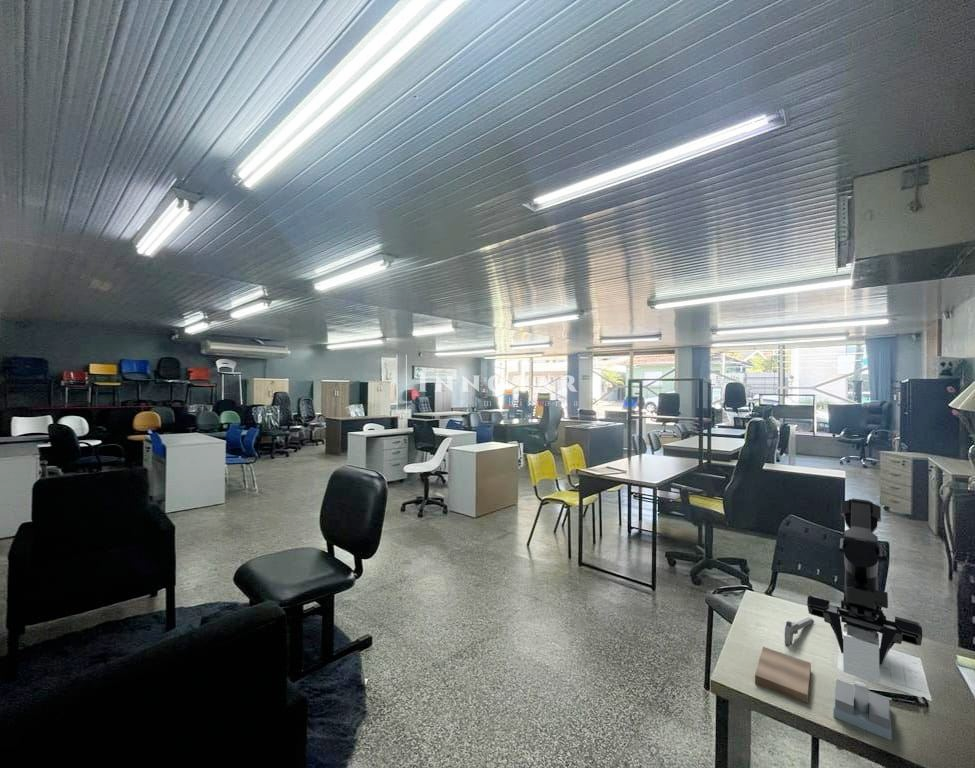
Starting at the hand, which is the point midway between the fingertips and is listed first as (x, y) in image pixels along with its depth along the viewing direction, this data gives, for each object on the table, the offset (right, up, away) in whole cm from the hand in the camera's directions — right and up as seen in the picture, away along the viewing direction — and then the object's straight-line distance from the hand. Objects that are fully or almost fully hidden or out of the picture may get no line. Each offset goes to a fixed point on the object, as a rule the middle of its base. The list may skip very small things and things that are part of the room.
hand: (860, 658), depth 88 cm
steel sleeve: (+1, -3, +1) cm, 4 cm away
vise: (+2, -13, +2) cm, 14 cm away
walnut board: (-7, -13, +14) cm, 20 cm away
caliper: (+11, -14, +32) cm, 37 cm away
